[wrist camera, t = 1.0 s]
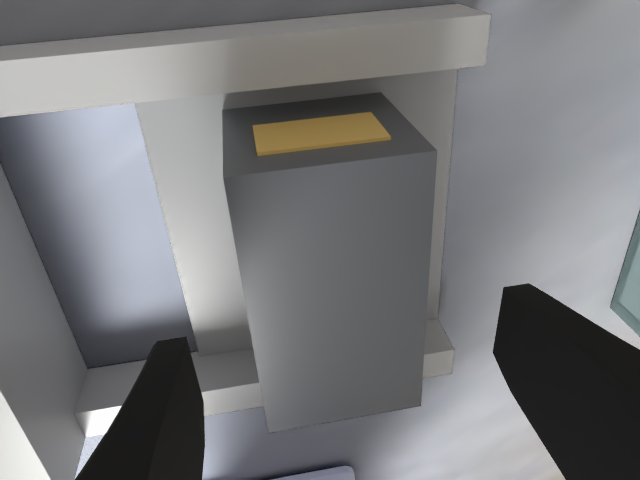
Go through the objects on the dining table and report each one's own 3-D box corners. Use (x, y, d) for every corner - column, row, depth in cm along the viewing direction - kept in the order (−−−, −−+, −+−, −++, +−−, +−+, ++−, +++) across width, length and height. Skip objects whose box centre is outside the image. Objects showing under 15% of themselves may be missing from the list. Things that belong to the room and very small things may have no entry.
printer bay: (433, 336, 20) (481, 430, 17) (41, 401, 19) (-4, 520, 15) (458, 3, 14) (547, 32, 10) (-136, 58, 12) (-294, 117, 9)
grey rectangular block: (380, 309, 19) (420, 405, 15) (258, 328, 18) (268, 433, 15) (380, 89, 15) (437, 147, 11) (221, 107, 14) (221, 173, 10)
